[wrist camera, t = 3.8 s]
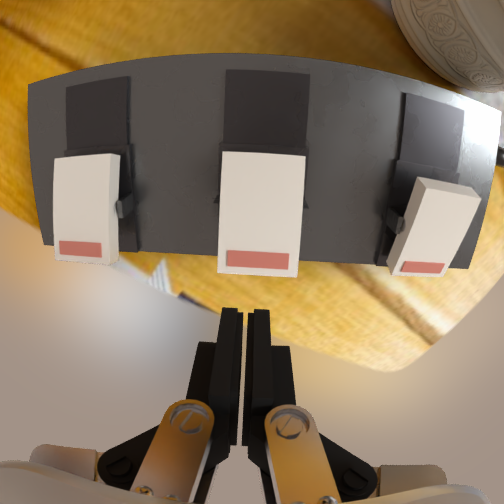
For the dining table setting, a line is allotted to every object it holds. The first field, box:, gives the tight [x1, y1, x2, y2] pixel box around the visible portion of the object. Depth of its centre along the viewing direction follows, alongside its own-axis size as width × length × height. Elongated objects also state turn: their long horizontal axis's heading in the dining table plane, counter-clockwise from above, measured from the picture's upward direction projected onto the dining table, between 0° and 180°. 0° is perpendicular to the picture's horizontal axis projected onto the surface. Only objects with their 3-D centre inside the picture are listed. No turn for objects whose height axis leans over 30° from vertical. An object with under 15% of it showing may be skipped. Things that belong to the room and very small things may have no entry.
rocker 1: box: [53, 154, 120, 265], centre depth 15 cm, size 4×6×2 cm, turn 177°
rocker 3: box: [386, 177, 481, 277], centre depth 15 cm, size 4×6×2 cm, turn 177°
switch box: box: [28, 53, 504, 269], centre depth 18 cm, size 38×12×7 cm, turn 87°
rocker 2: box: [217, 151, 306, 277], centre depth 15 cm, size 4×6×2 cm, turn 177°
